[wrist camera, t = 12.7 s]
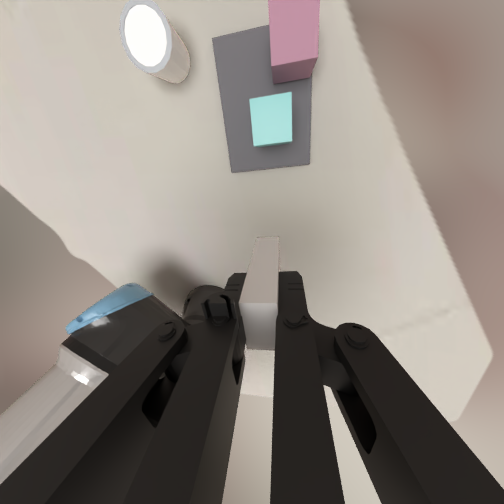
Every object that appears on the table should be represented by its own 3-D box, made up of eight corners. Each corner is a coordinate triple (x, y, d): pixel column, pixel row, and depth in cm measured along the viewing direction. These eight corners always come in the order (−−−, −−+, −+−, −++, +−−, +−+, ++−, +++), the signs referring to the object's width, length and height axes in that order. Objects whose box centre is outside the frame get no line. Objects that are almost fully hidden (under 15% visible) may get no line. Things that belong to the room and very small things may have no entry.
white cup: (182, 98, 32) (159, 86, 26) (145, 67, 31) (112, 46, 25) (201, 52, 29) (180, 25, 23) (162, 16, 28) (128, -23, 22)
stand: (232, 172, 36) (220, 177, 29) (214, 41, 28) (189, 1, 21) (308, 163, 34) (317, 167, 26) (312, 19, 26) (325, -36, 18)
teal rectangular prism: (258, 147, 32) (253, 146, 26) (255, 109, 30) (249, 99, 24) (289, 143, 31) (292, 141, 25) (289, 103, 29) (291, 91, 23)
